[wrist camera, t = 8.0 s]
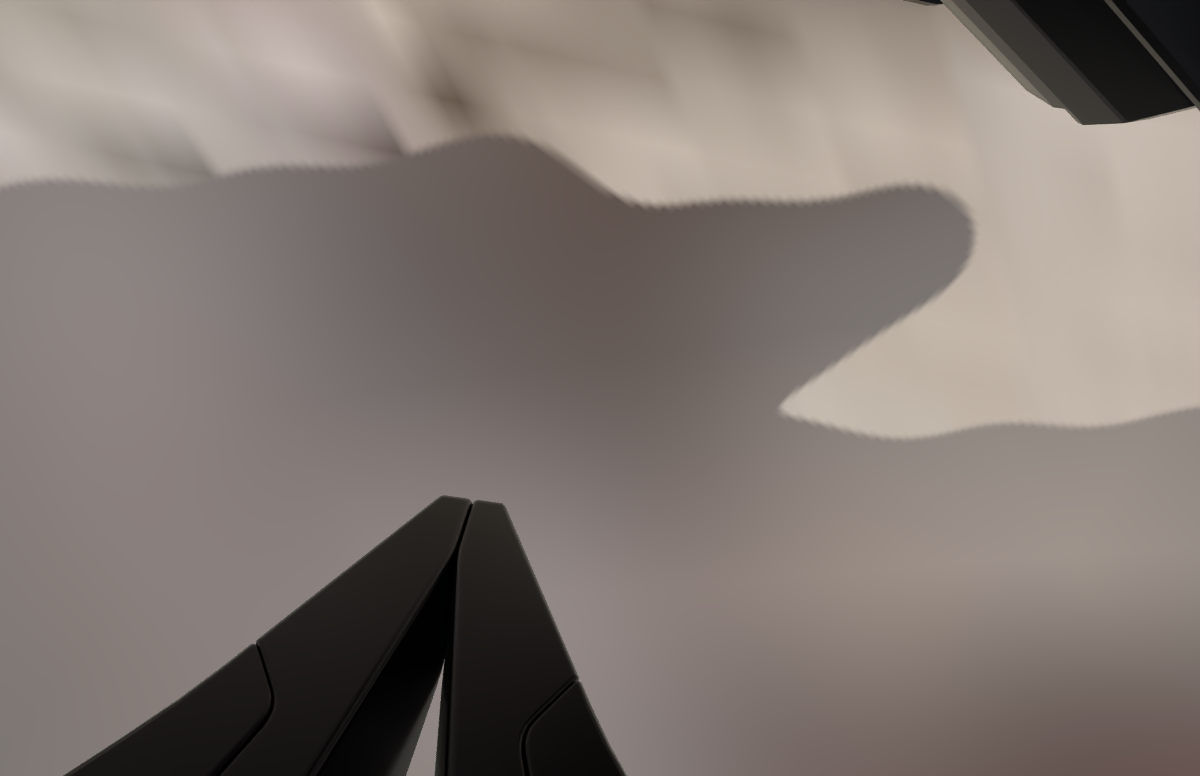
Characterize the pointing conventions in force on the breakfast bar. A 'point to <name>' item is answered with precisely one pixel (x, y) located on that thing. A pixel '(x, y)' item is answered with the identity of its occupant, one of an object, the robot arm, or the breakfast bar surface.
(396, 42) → the breakfast bar surface
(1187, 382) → the breakfast bar surface
